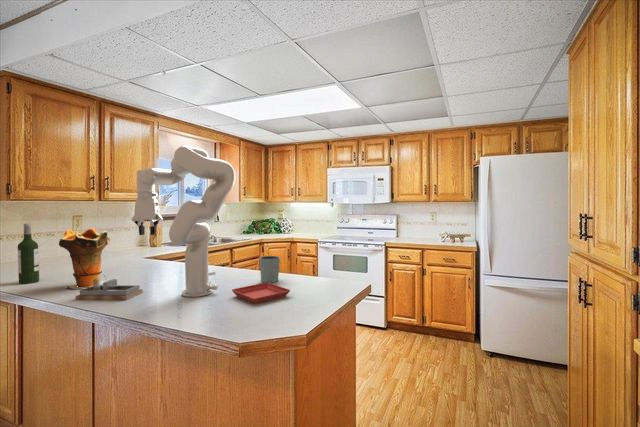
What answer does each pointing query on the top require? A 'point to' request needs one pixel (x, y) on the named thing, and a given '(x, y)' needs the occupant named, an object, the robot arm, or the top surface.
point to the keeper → (99, 297)
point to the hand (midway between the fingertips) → (147, 234)
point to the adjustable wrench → (212, 273)
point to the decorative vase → (85, 255)
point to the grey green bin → (269, 268)
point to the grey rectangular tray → (111, 289)
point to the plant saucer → (260, 292)
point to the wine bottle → (28, 258)
